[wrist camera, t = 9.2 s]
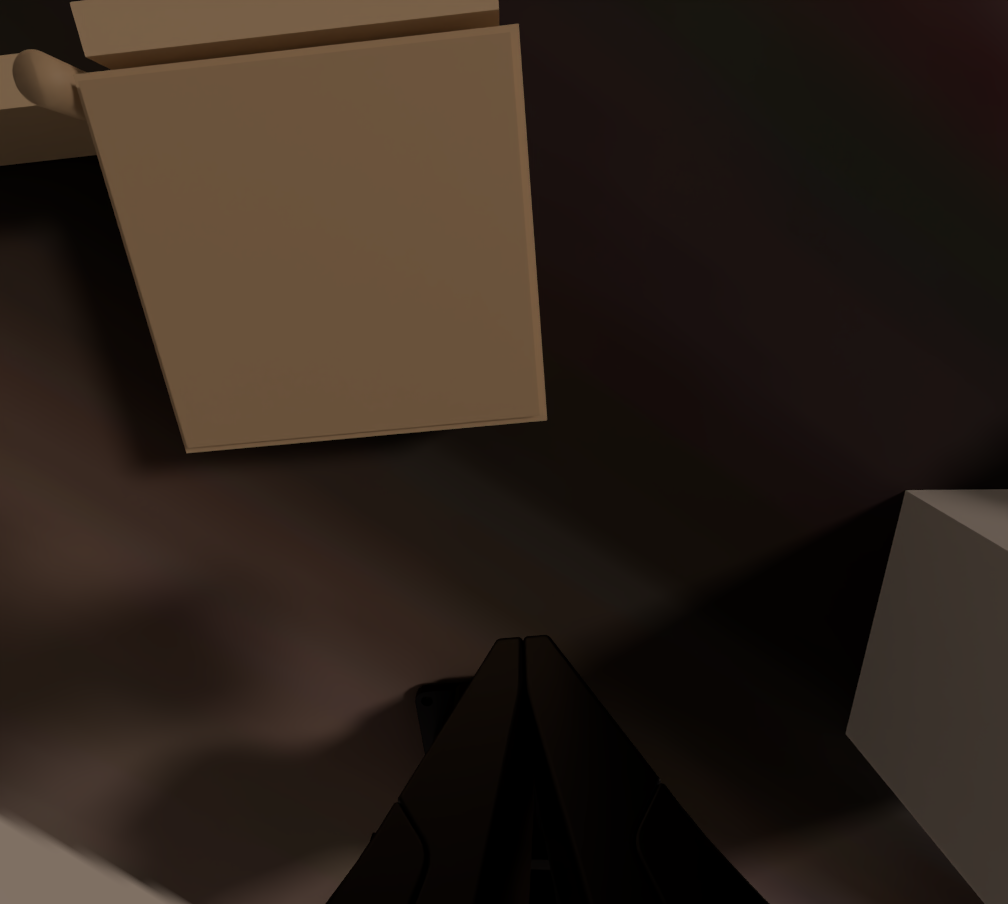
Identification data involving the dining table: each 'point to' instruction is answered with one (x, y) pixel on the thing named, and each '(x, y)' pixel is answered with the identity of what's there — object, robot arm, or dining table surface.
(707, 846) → the robot arm
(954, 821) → the milk
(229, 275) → the carton
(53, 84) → the flap
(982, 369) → the dining table surface
